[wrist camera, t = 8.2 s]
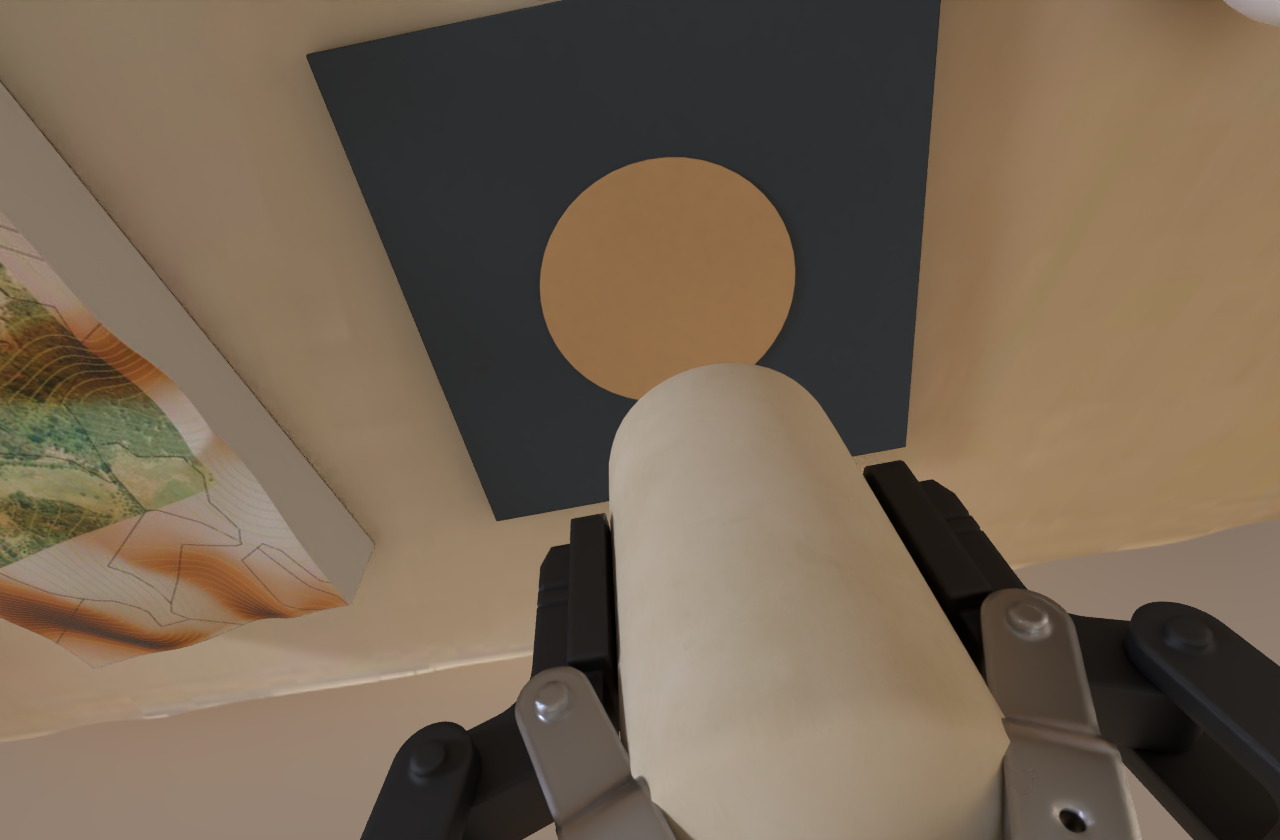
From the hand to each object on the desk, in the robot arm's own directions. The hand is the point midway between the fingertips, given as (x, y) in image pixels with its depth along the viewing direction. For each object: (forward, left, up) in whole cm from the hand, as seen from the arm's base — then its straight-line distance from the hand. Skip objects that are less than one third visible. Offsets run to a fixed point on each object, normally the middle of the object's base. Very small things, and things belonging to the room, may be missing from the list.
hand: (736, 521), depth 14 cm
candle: (0, 0, -2) cm, 2 cm away
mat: (0, 0, -14) cm, 14 cm away
